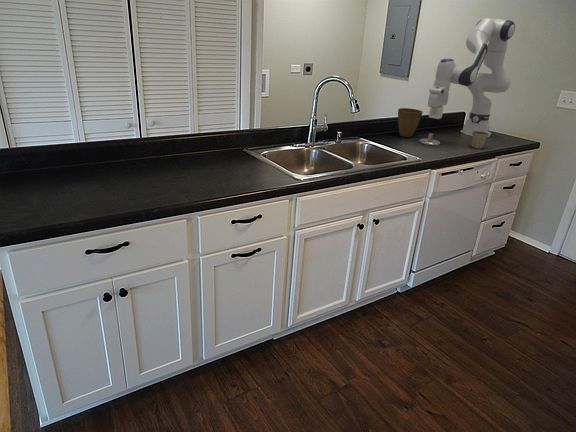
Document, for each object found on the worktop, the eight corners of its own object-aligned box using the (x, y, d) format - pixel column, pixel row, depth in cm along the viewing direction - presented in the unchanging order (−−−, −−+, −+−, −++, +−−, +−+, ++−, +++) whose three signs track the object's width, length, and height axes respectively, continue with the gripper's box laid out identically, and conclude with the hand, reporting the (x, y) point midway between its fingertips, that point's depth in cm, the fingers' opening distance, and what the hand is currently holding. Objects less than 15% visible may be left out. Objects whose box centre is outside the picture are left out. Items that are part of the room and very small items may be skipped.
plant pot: (389, 133, 256) (393, 108, 249) (406, 132, 263) (410, 107, 256) (405, 139, 244) (410, 113, 238) (422, 137, 251) (428, 112, 244)
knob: (432, 116, 237) (434, 104, 234) (442, 117, 233) (445, 106, 230) (427, 117, 233) (430, 105, 230) (438, 119, 229) (440, 107, 226)
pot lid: (424, 139, 247) (426, 130, 245) (443, 143, 240) (445, 134, 238) (415, 142, 239) (417, 133, 237) (434, 146, 232) (436, 137, 229)
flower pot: (475, 149, 231) (479, 134, 227) (464, 145, 239) (468, 131, 236) (488, 149, 234) (492, 134, 230) (478, 145, 242) (481, 130, 238)
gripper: (442, 87, 235) (437, 111, 241) (428, 89, 221) (423, 114, 227) (453, 89, 232) (447, 113, 237) (439, 91, 217) (433, 116, 223)
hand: (435, 113), depth 232 cm, fingers closed on knob, 6 cm apart
